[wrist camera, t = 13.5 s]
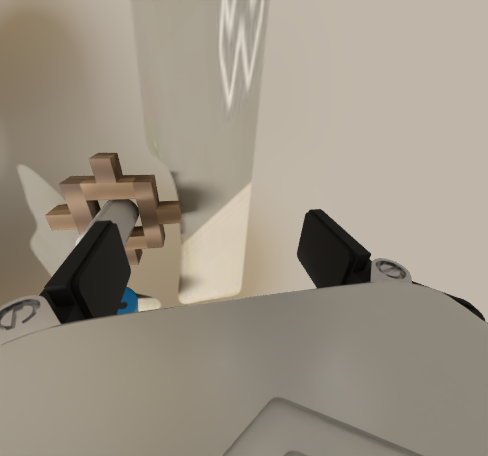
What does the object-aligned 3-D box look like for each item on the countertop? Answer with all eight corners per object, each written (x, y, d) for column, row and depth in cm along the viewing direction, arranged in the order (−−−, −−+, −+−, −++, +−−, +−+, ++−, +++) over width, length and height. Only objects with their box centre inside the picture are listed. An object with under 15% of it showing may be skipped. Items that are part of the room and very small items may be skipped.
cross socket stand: (33, 152, 35) (16, 158, 32) (173, 153, 39) (172, 158, 36) (80, 257, 47) (71, 270, 43) (185, 249, 51) (184, 260, 47)
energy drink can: (130, 227, 45) (107, 277, 33) (100, 211, 42) (62, 261, 30) (145, 206, 43) (126, 251, 31) (115, 188, 41) (81, 230, 28)
